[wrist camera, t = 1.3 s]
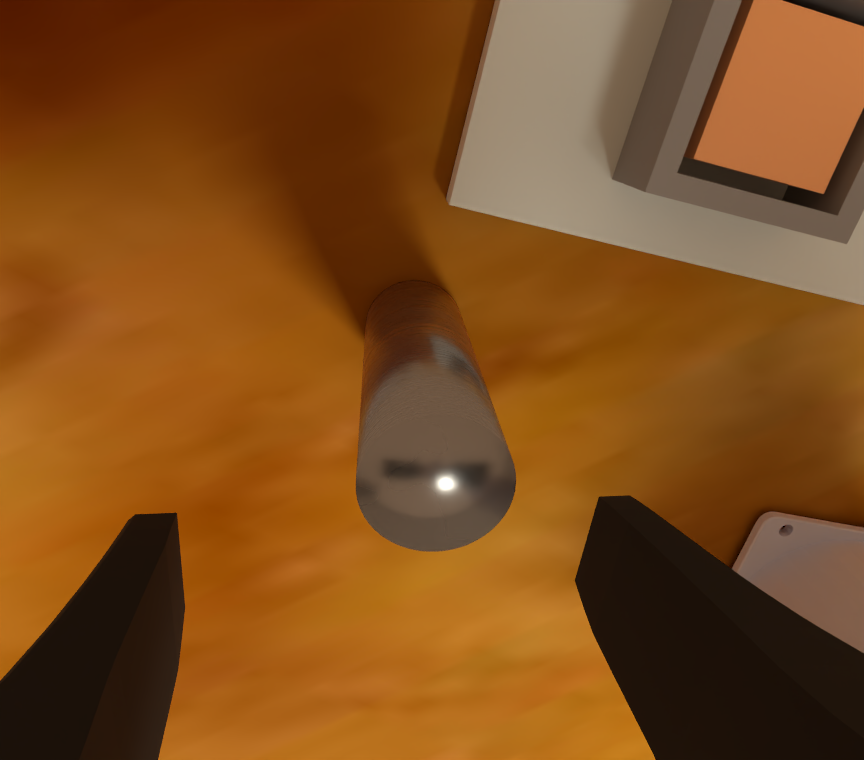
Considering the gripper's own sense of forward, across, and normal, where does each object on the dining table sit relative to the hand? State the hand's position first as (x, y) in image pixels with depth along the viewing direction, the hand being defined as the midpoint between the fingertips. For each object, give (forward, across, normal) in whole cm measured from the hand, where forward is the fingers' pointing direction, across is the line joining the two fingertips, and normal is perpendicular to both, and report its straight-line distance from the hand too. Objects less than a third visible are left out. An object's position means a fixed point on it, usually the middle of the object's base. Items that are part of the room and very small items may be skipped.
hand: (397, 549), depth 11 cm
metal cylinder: (+10, -2, 0) cm, 10 cm away
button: (+8, -10, -7) cm, 15 cm away
